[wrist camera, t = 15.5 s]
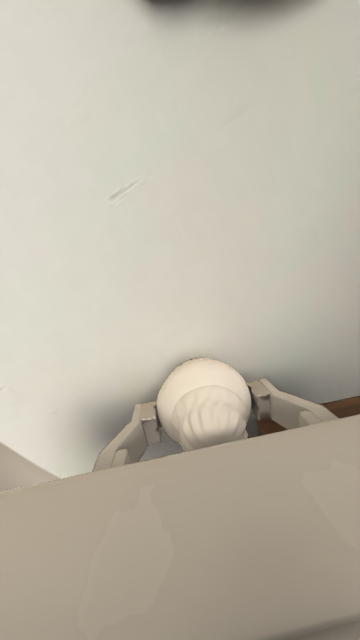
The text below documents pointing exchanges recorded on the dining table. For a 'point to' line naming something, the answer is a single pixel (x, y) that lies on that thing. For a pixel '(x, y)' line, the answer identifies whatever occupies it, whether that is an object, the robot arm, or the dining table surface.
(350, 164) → the dining table surface
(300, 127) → the dining table surface
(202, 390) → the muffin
